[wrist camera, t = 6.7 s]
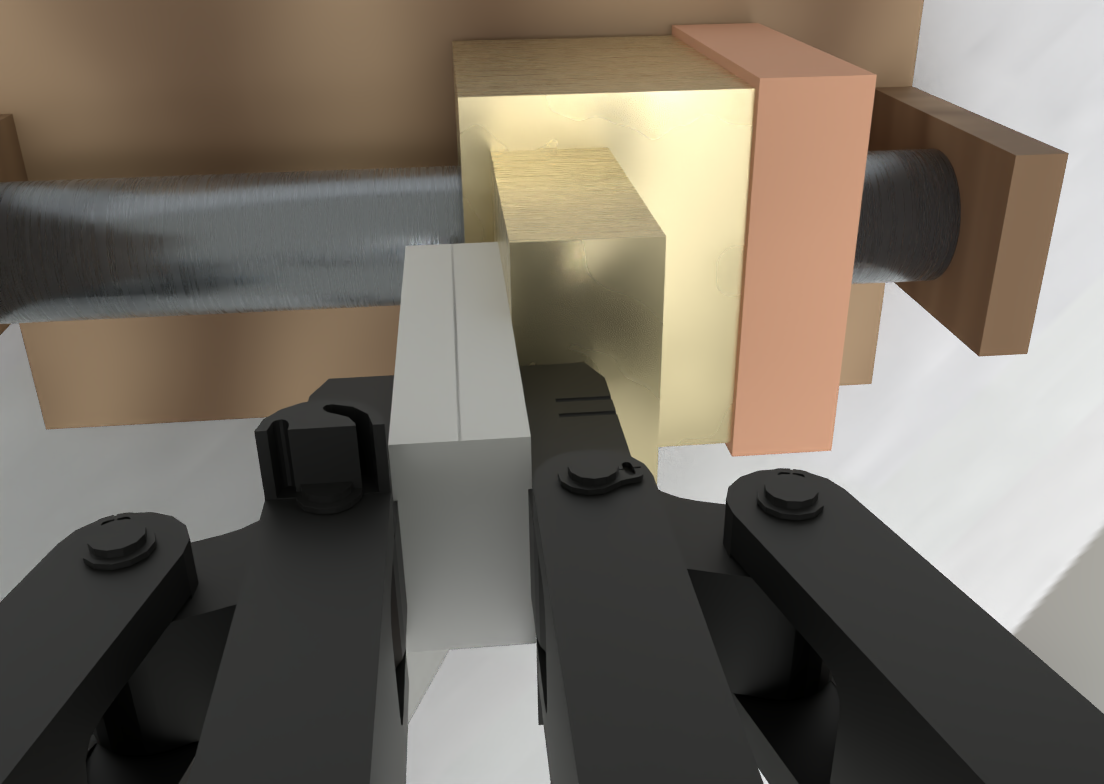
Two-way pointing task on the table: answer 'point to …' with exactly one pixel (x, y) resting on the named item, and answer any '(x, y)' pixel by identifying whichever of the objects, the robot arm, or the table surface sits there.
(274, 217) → the pipe
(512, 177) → the sleeve
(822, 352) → the square pink collar
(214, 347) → the base board
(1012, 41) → the table surface
